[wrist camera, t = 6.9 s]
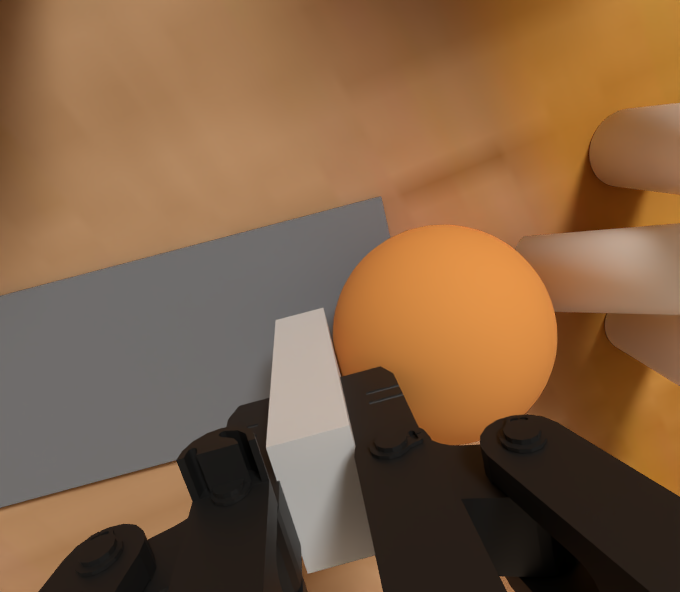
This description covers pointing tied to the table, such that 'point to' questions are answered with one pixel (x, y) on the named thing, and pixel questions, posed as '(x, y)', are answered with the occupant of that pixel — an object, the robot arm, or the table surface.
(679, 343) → the pin
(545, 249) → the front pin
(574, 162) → the table surface
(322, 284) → the plate
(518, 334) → the ball
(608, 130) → the pin
